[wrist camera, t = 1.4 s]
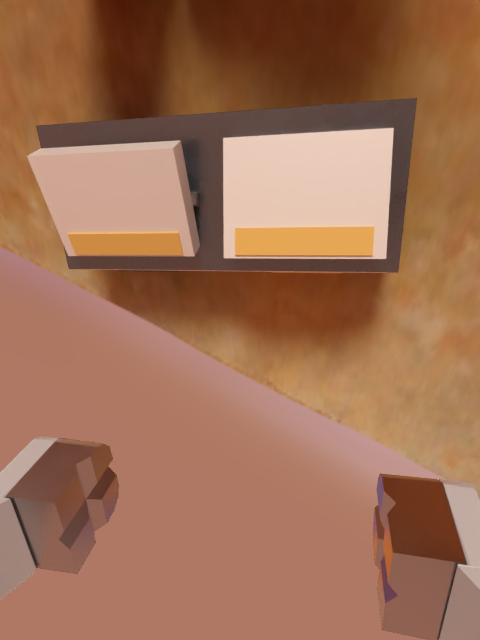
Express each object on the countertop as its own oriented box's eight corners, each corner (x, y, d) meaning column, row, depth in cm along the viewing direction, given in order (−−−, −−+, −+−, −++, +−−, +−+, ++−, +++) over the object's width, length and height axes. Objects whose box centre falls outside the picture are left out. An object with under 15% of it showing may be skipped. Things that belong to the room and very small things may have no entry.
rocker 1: (180, 140, 24) (172, 149, 23) (200, 245, 29) (193, 257, 27) (40, 148, 26) (25, 157, 25) (78, 245, 31) (67, 257, 29)
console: (401, 104, 28) (419, 97, 22) (387, 254, 32) (399, 282, 26) (84, 126, 33) (27, 125, 27) (108, 253, 37) (63, 277, 31)
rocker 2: (389, 135, 24) (394, 127, 22) (382, 258, 25) (386, 258, 23) (229, 144, 26) (222, 137, 24) (229, 258, 27) (223, 258, 25)
